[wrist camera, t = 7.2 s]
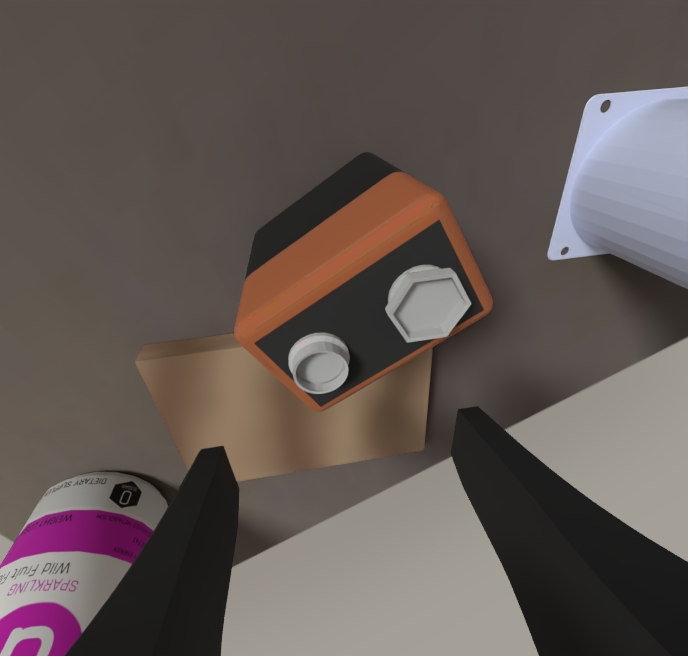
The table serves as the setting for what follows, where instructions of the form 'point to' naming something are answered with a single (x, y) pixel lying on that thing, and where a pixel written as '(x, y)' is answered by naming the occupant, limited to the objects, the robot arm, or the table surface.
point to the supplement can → (72, 559)
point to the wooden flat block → (278, 410)
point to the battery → (356, 282)
